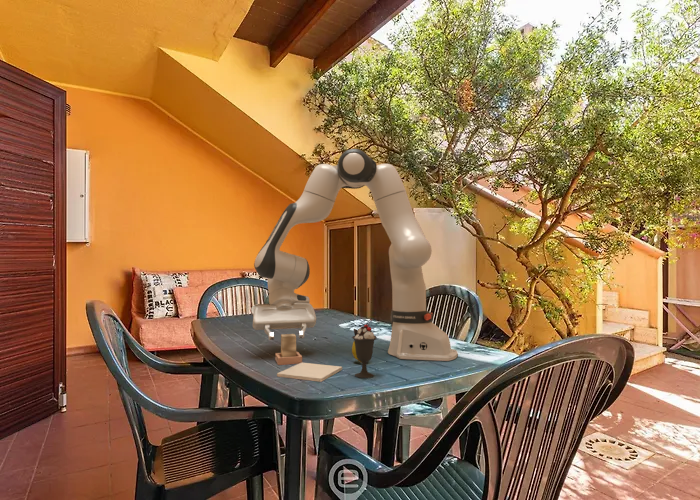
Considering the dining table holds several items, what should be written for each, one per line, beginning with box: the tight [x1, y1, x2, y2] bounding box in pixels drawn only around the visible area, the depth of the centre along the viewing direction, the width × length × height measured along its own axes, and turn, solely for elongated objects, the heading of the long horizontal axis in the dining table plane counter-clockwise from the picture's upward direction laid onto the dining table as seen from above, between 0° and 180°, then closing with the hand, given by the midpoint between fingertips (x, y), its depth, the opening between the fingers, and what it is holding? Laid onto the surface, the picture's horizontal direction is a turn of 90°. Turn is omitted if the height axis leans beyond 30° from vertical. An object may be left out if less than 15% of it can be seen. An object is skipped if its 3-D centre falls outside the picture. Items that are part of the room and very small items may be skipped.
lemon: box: [351, 341, 362, 364], centre depth 124 cm, size 6×6×8 cm
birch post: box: [280, 333, 297, 357], centre depth 125 cm, size 4×4×8 cm
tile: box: [276, 362, 343, 383], centre depth 112 cm, size 13×13×1 cm
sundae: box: [351, 318, 378, 379], centre depth 109 cm, size 7×7×15 cm
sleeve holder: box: [274, 351, 303, 366], centre depth 125 cm, size 7×7×2 cm
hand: (286, 338), depth 128 cm, fingers open, 8 cm apart
